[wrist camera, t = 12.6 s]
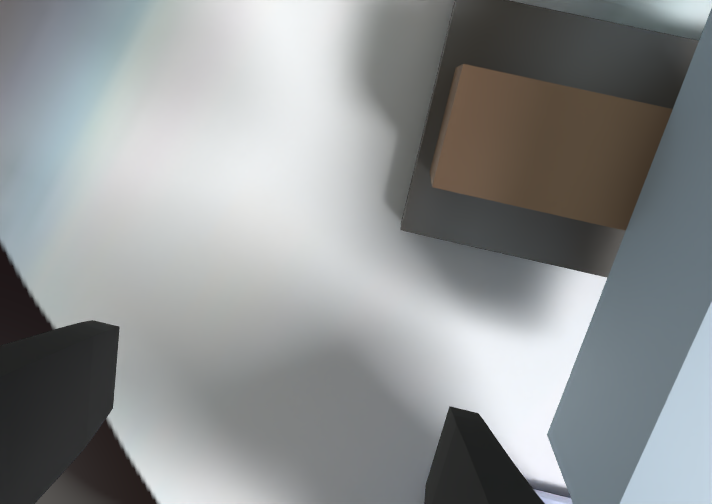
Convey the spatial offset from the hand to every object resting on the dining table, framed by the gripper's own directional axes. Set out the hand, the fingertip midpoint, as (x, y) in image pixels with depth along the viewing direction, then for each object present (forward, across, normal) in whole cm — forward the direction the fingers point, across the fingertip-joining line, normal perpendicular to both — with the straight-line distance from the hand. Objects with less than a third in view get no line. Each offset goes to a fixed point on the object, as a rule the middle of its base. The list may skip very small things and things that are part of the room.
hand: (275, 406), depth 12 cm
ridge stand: (+10, -10, -6) cm, 16 cm away
